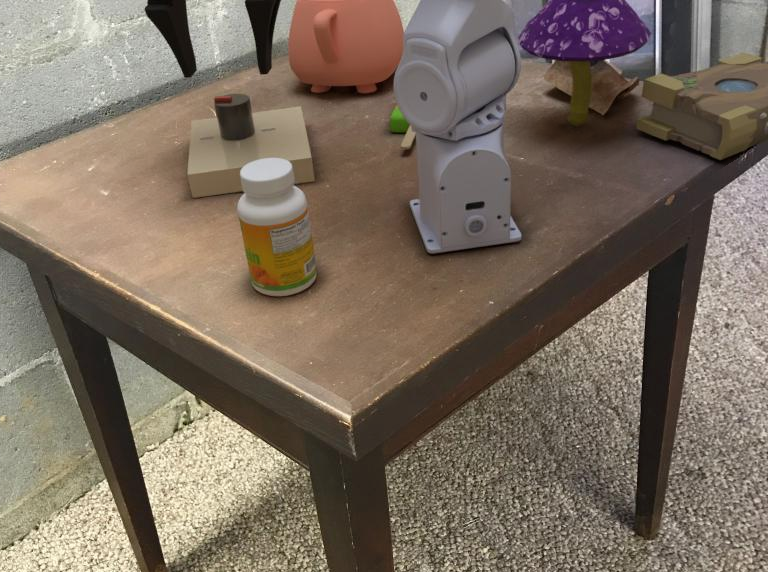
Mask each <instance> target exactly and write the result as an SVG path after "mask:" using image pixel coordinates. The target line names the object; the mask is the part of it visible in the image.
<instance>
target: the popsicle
mask: <svg viewBox="0 0 768 572" xmlns="http://www.w3.org/2000/svg"><path fill="white" fill-rule="evenodd" d="M389 129H390V131H391V132H392V133H405V135H404V137H403V139H402V141H401V144H400V150H410V149H411V148H412V146H413V143H414V141H415V140H416V132H413V131H411V125H410V124H409V123H408V122H407V121H406V119H405V118H404V117H403V115H402V114H401V112H400V110H399V108H398V105H397V104H396V105H395V106H394V109H393V111H392V113H391V114H390V117H389Z"/></svg>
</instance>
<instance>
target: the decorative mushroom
mask: <svg viewBox="0 0 768 572" xmlns="http://www.w3.org/2000/svg"><path fill="white" fill-rule="evenodd" d="M651 35H652V32H651V30H650V29H649V27H648V26H647V25H646V23H645V22H644V21H643V20H642V18H641V17H640V16H639V15H638V13H637V12H636V11H635V10H634V9H633V7H632V6H631V5H630V4H629V3H628V2H627V1H626V0H548V1H547V2H546V3H545V4H544V5H543V7H541V9H540V10H539V11H538V12H537V13H536V14H535V15H534V16H533V17H532V18H531V19H530V20H528V21H527V23H526V24H525V26H524V28H523V29H522V30H521V32H520V34H519V35H518V37H517V39H518V43H519V44H518V45H519V46H520V47H521V48H522V50H524V51H525V52H526V53H528V54H530V55H531V56H535V57H537V58H541V59H544V60H552V61H555V60H558V61H570V65H571V71H572V79H573V90H572V96H571V98H570V105H569V111H568V115H567V120H568V122H569V124H570V125H572V126H576V127H579V126H583V125H584V124H586V122H587V121H588V119H589V108H590V107H589V102H590V96H591V88H592V81H591V69H590V61H598V60H606V61H607V60H611V59H616V58H621V57H624V56H627V55H630V54H632V53H636V52H637V51H639V50H640V49H641V48H643V47H644V46H645V45H646V44H647V43H648V42H649V40H650V38H651Z"/></svg>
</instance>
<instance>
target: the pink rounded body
mask: <svg viewBox="0 0 768 572" xmlns="http://www.w3.org/2000/svg"><path fill="white" fill-rule="evenodd" d="M291 17H292V18H291V22H290V26H289V34H288V62H289V66H290V69H291V71H292V72H293V74H294V76H296V78H297V79H298V80H299V81H300V82H301V83H304V84H308V85H311V88H310V91H311V92H313V93H324V92H328V91H329V90H331V88H332V87H351V86H355V88H356V92H357V93H360V94H369V93H374V92H376V91H377V90H378V88H377V85H376V84H378V83H381V82H383V81H385V80H388V78H390V77H391V76H392V75H393V74H394V73H395V72H396V70H397V68H398V65H399V63H400V61H401V58H402V54H403V34H404V31H405V29H404V27H403V22H402V18H401V15H400V12H399V10H398V8H397V5H396V3H395V1H394V0H296V2H295V5H294V8H293V13H292V16H291Z"/></svg>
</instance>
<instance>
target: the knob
mask: <svg viewBox="0 0 768 572" xmlns="http://www.w3.org/2000/svg"><path fill="white" fill-rule="evenodd" d="M213 101H214V102H213V105H214V110H215V114H216V118H217V120H218V125H219V130H220V135H221V137H222V138H224V139H227V140H239V139H244V138H247V137H249V136H251V135H253V134H254V132H255V127H254V121H253V115H252V113H253V111H252V110H253V109H252V105H251V98H250V96H249V95H248V94H245V93H229V94H225V95H215V96H214V97H213Z"/></svg>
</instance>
